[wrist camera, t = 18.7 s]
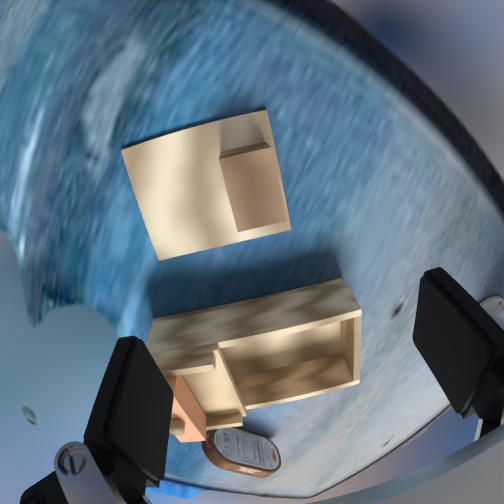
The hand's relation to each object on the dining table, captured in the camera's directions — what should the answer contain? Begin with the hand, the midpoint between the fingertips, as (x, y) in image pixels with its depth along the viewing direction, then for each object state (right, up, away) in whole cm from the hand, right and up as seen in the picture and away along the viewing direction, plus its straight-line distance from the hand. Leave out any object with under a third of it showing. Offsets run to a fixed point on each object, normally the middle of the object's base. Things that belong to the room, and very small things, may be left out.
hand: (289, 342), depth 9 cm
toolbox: (-1, -8, +26) cm, 27 cm away
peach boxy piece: (-9, -13, +20) cm, 26 cm away
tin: (-3, -28, +37) cm, 46 cm away
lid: (-5, +9, +19) cm, 21 cm away
